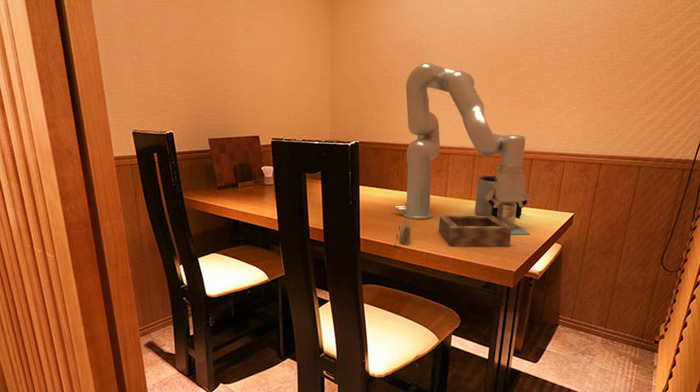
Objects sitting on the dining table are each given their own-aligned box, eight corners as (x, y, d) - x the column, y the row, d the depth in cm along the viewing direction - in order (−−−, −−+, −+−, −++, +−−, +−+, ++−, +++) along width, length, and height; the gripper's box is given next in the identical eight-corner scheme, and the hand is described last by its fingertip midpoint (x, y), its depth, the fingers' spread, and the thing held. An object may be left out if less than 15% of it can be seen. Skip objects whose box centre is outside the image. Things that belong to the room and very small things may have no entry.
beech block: (501, 230, 134) (503, 205, 132) (495, 225, 140) (497, 202, 138) (513, 230, 134) (516, 206, 132) (507, 225, 140) (509, 202, 138)
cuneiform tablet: (394, 247, 116) (393, 235, 128) (408, 250, 116) (406, 238, 128) (399, 226, 114) (398, 216, 126) (413, 229, 114) (411, 219, 126)
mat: (495, 234, 130) (495, 233, 130) (481, 223, 144) (481, 222, 144) (529, 234, 130) (529, 233, 130) (512, 223, 144) (512, 222, 144)
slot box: (450, 246, 118) (451, 227, 116) (438, 231, 132) (439, 215, 131) (509, 246, 118) (511, 228, 117) (491, 232, 132) (493, 215, 131)
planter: (516, 221, 146) (520, 183, 143) (473, 217, 152) (476, 180, 149) (513, 212, 161) (517, 177, 158) (475, 209, 167) (478, 174, 163)
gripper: (490, 171, 129) (485, 220, 132) (540, 171, 129) (534, 220, 132) (482, 168, 136) (478, 214, 140) (529, 168, 136) (524, 215, 140)
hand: (505, 217), depth 136 cm, fingers open, 7 cm apart
